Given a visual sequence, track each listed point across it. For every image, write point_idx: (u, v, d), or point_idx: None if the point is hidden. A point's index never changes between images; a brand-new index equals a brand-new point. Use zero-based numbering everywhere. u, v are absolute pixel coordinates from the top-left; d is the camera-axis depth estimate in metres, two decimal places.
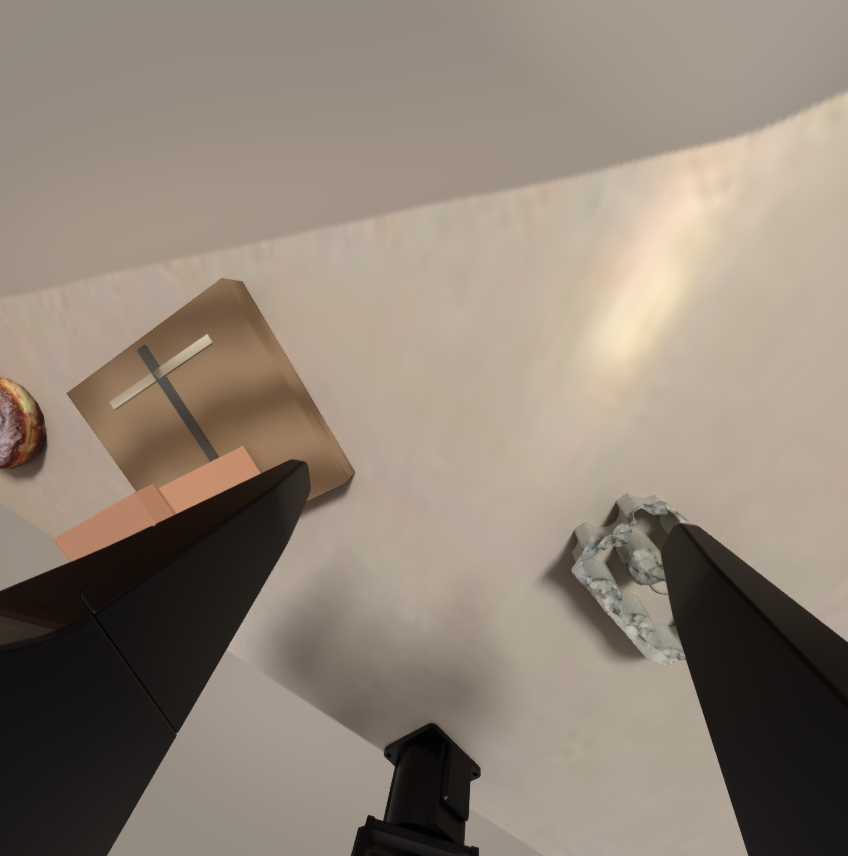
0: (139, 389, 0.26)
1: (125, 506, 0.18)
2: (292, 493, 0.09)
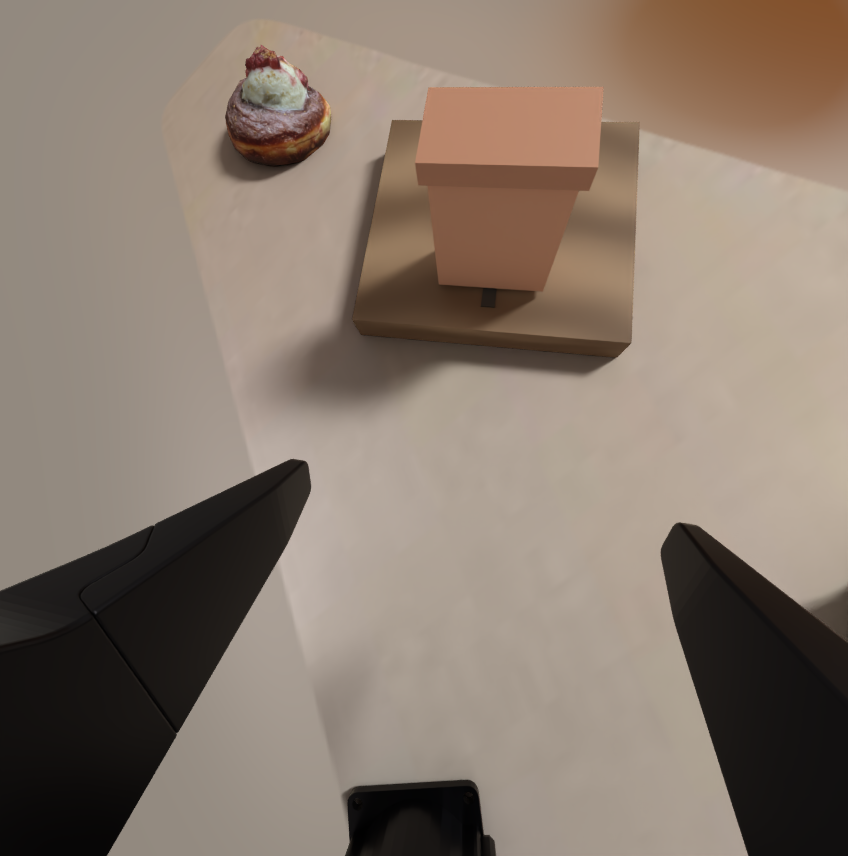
0: None
1: (574, 94, 0.14)
2: (292, 493, 0.09)
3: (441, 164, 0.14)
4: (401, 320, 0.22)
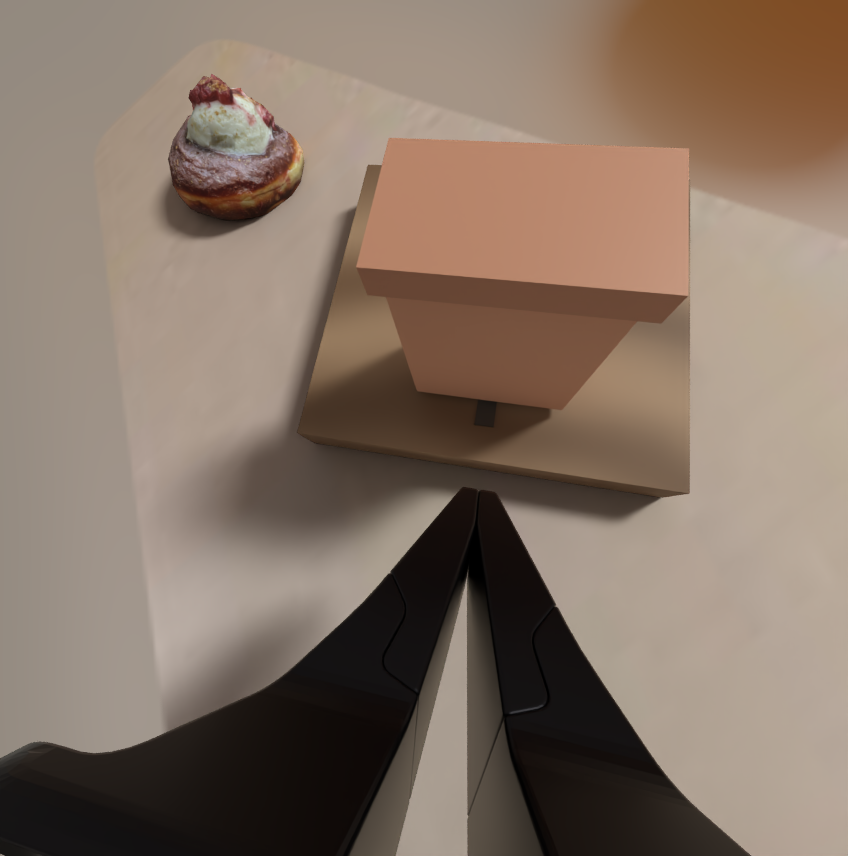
0: None
1: (638, 159, 0.08)
2: None
3: (402, 271, 0.08)
4: (363, 438, 0.16)
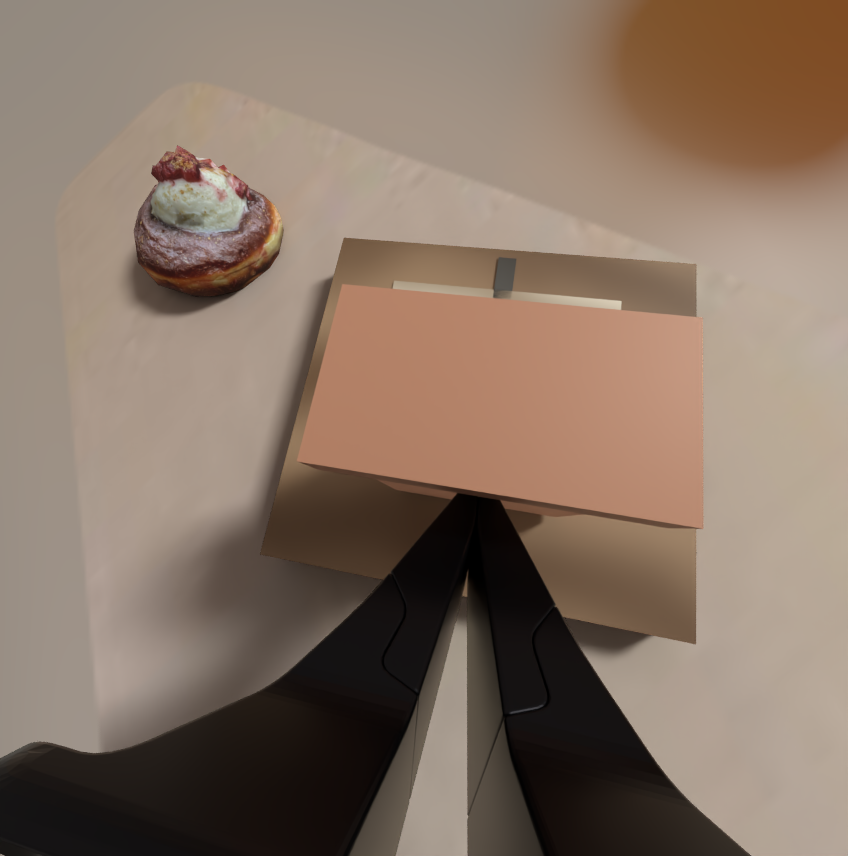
0: None
1: (640, 330, 0.07)
2: None
3: (352, 468, 0.07)
4: (333, 563, 0.14)
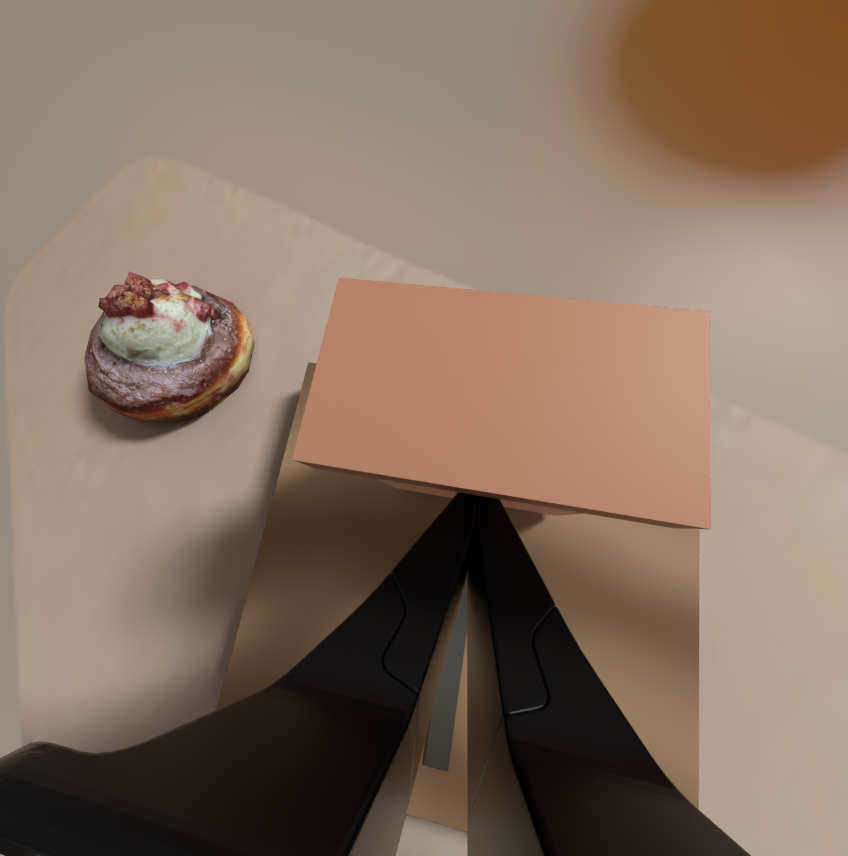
0: None
1: (646, 324, 0.06)
2: None
3: (349, 466, 0.06)
4: None
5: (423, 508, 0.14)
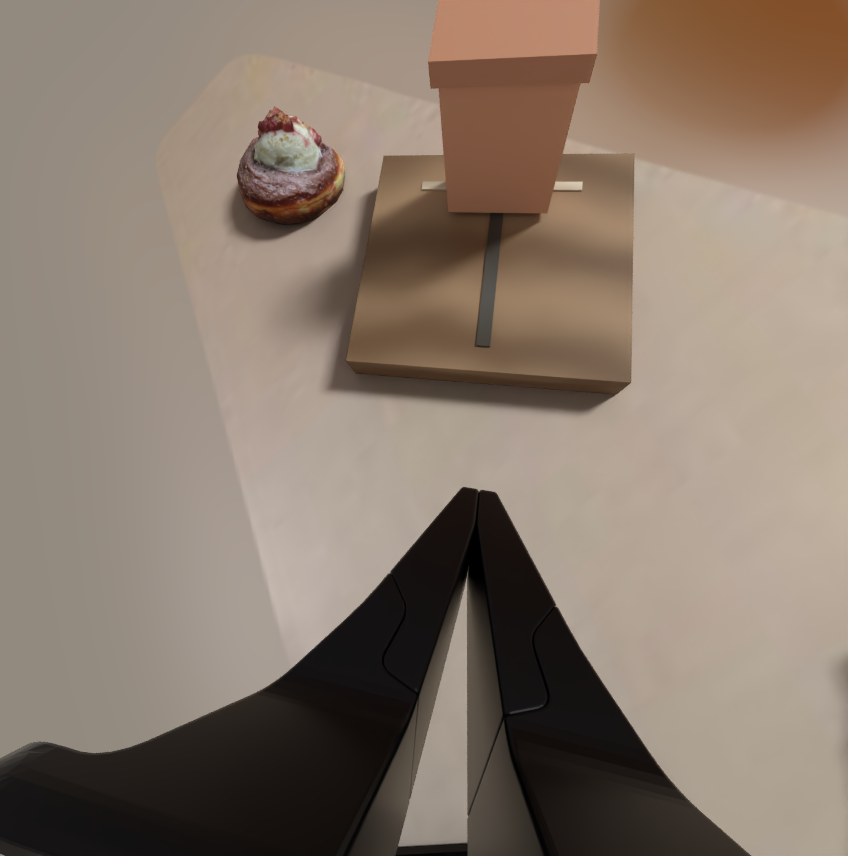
0: None
1: None
2: None
3: (452, 61, 0.15)
4: (395, 361, 0.22)
5: (465, 224, 0.23)
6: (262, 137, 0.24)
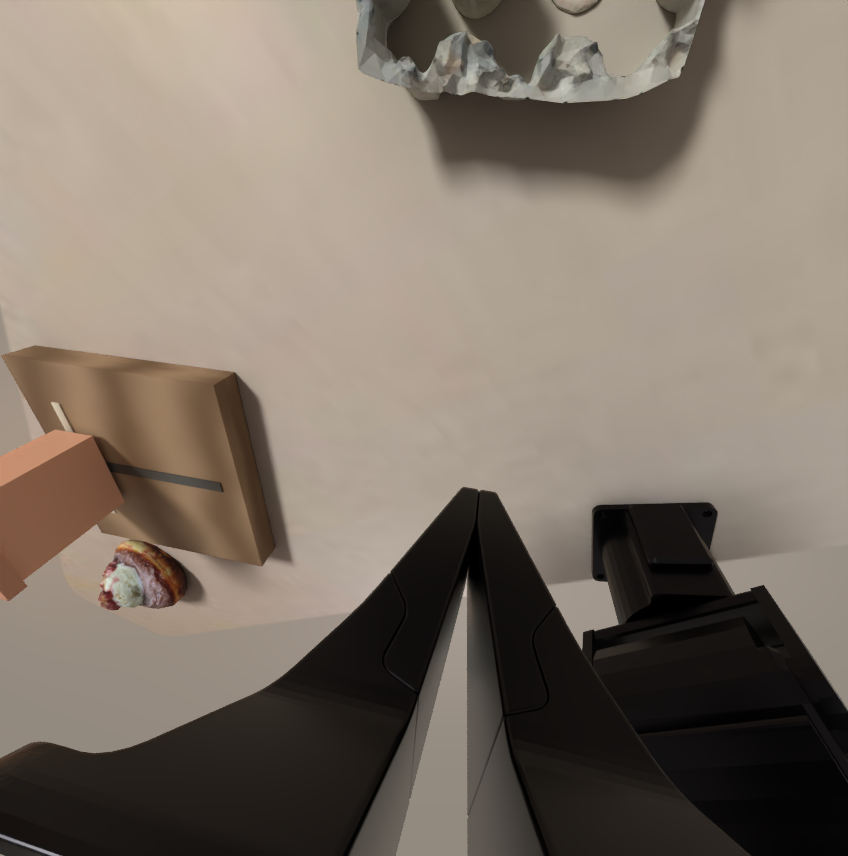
0: None
1: None
2: None
3: (0, 589, 0.21)
4: (252, 539, 0.28)
5: (130, 488, 0.28)
6: (123, 606, 0.34)
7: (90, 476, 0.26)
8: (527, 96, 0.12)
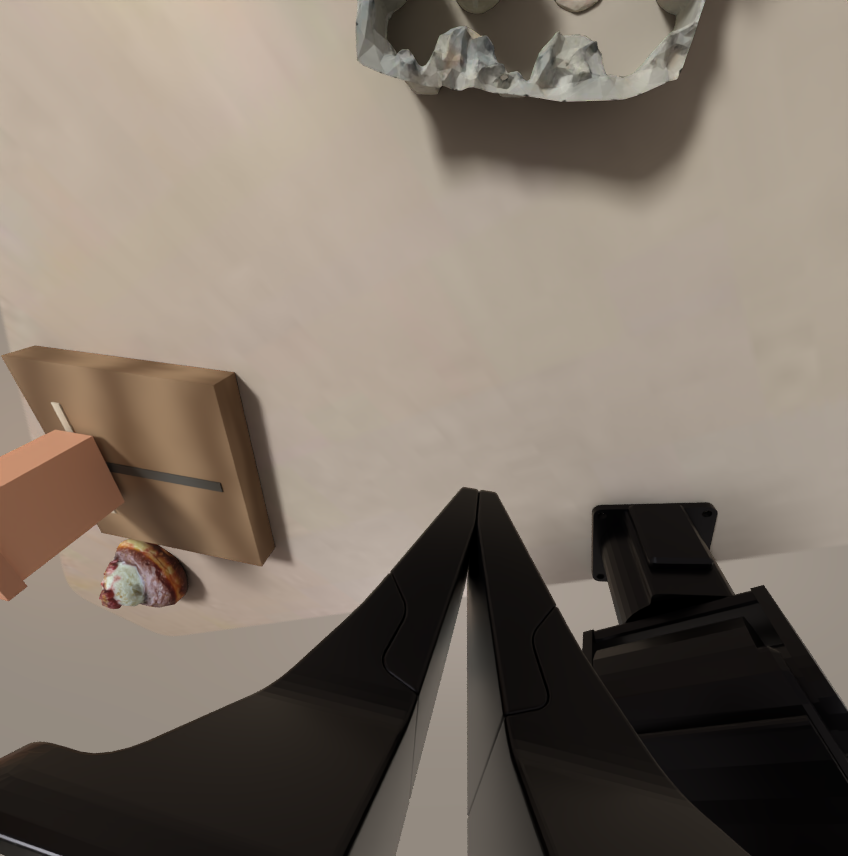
0: None
1: None
2: None
3: (0, 589, 0.21)
4: (252, 539, 0.28)
5: (130, 488, 0.28)
6: None
7: (90, 476, 0.26)
8: (526, 93, 0.12)
